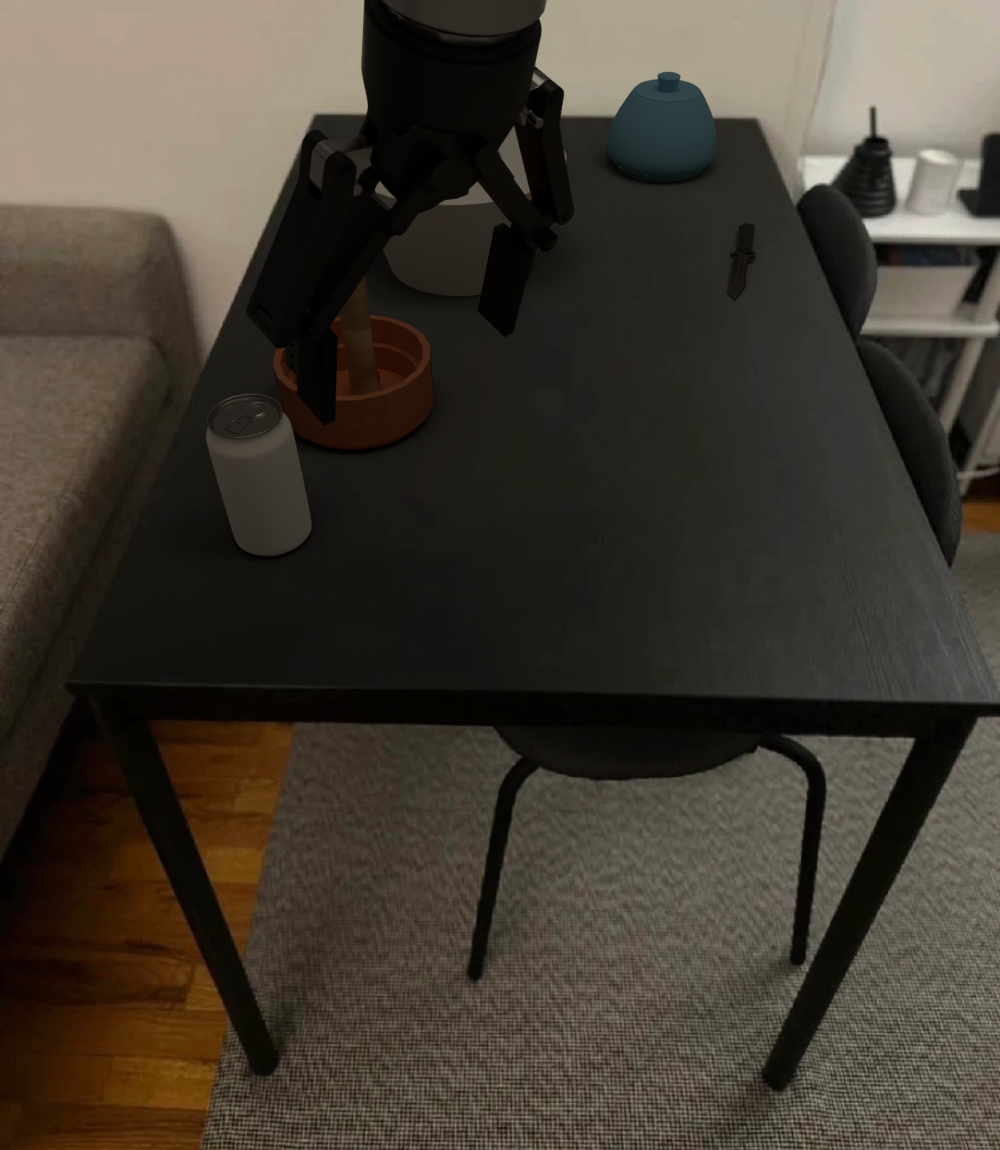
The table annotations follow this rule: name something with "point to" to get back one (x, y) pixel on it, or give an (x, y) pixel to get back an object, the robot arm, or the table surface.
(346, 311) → the stick
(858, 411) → the table surface
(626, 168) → the sugar bowl
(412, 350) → the stir bowl
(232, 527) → the can
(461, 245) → the grey tapered cylinder
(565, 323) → the table surface
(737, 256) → the knife
